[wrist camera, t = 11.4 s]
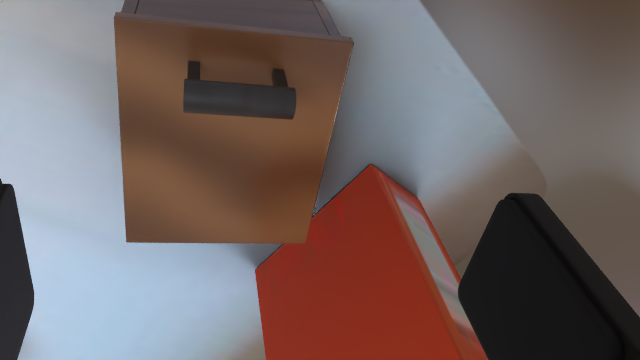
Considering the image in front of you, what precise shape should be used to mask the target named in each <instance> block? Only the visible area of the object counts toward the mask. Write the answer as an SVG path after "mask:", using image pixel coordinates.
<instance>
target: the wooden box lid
mask: <svg viewBox="0 0 640 360" xmlns="http://www.w3.org/2000/svg"><path fill="white" fill-rule="evenodd" d="M114 30H115V48H116V66H117V84H118V101H119V119H120V137H121V155H122V173H123V191H124V209H125V227H126V242H138V243H286V244H305V243H306V238H307V234H308V230H309V226H310V222H311V218H312V214H313V210H314V205H315V201H316V197H317V193H318V189H319V185H320V181H321V177H322V172H323V168H324V164H325V160H326V156H327V152H328V148H329V144H330V139H331V135H332V131H333V127H334V123H335V119H336V115H337V111H338V106H339V102H340V98H341V94H342V90H343V86H344V82H345V77H346V73H347V69H348V65H349V61H350V57H351V53H352V49H353V44H354V42H353V40H352V38H350V37H341V36H332V35H323V34H313V33H304V32H295V31H286V30H277V29H268V28H259V27H249V26H240V25H231V24H222V23H213V22H204V21H194V20H185V19H176V18H167V17H158V16H149V15H139V14H130V13H121V12H116V13H115V16H114Z"/></svg>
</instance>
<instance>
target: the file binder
mask: <svg viewBox="0 0 640 360" xmlns="http://www.w3.org/2000/svg"><path fill="white" fill-rule="evenodd" d="M255 273H256V282H257V290H258V298H259V306H260V314H261V322H262V330H263V338H264V346H265V354H266V360H488V358H487V356H486V354H485V352H484V350H483V348H482V346H481V344H480V342H479V340H478V338H477V336H476V334H475V332H474V330H473V328H472V326H471V324H470V322H469V320H468V318H467V316H466V314H465V312H464V310H463V308H462V306H461V304H460V301H459V298H458V286H459V284H460V281H461V278H460V276H459V274H458V272H457V271H456V269H455V267H454V265H453V263H452V261H451V259H450V257H449V255H448V253H447V252H446V250H445V248H444V246H443V244H442V242H441V240H440V238H439V236H438V235H437V233H436V231H435V229H434V227H433V225H432V223H431V221H430V219H429V218H428V216H427V214H426V212H425V210H424V208H423V206H422V204H421V202H420V201H419V200H418V198H417V197H415V196H414V195H413V194H411V193H410V192H409V191H407V190H406V189H405V188H403V187H402V186H401V185H399V184H398V183H396V182H395V181H394V180H392V179H391V178H390V177H388V176H387V175H386V174H384V173H383V172H382V171H380V170H379V169H378V168H376V167H375V166H374V165H371V164H370V165H369V166H368V167H367V168H366V169H365V170H364V171H363V172H361V173H360V174H359V175H358V176H357V177H356V178H355V179H354V180H353V181H352V182H351V183H349V184H348V185H347V186H346V187H345V188H344V189H343V190H342V191H341V192H340V193H339V194H337V195H336V196H335V197H334V198H333V199H332V200H331V201H330V202H329V203H328V204H327V205H325V206H324V207H323V208H322V209H321V210H320V211H319V212H318V213H317V214H316V215H315V216H313V217H312V218H311V222H310V226H309V230H308V234H307V238H306V243H305V244H286V243H284V244H283V245H282V246H281V247H280V248H279V249H277V250H276V251H275V252H274V253H273V254H272V255H271V256H270V257H269V258H268V259H267V260H265V261H264V262H263V263H262V264H261V265H260V266H259V267H258V268H257V269H256V270H255Z"/></svg>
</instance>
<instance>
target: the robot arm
mask: <svg viewBox="0 0 640 360" xmlns="http://www.w3.org/2000/svg"><path fill="white" fill-rule="evenodd" d="M458 298H459V301H460V304H461V306H462V308H463V310H464V312H465V314H466V316H467V318H468V320H469V322H470V324H471V326H472V328H473V330H474V332H475V334H476V336H477V338H478V340H479V342H480V344H481V346H482V348H483V350H484V352H485V354H486V356H487V358H488V360H640V317H639V316H638V315H637V314H636V312H635V311H634V310H633V309H632V307H630V305H629V304H628V303H627V301H626V300H625V299H624V298H623V297H622V295H621V294H620V293H619V292H618V290H617V289H616V288H615V287H614V286H613V284H612V283H611V282H610V281H609V279H608V278H607V277H606V276H605V275H604V273H603V272H602V271H601V270H600V268H599V267H598V266H597V265H596V264H595V262H594V261H593V260H592V259H591V257H590V256H589V255H588V254H587V253H586V251H585V250H584V249H583V248H582V247H581V245H580V244H579V243H578V242H577V240H576V239H575V238H574V237H573V235H572V234H571V233H570V232H569V231H568V229H567V228H566V227H565V226H564V224H563V223H562V222H561V221H560V220H559V219H558V217H557V216H556V215H555V213H554V212H553V211H552V210H551V209H550V207H549V206H548V205H547V204H546V202H545V201H544V200H543V199H542V198H541V197H540V196H539V195H537V194H528V193H510V194H508V195H507V196H506V197H505V198H504V200H501V201H499V202H498V204H497V206H496V208H495V210H494V212H493V214H492V216H491V218H490V220H489V223H488V225H487V227H486V229H485V231H484V233H483V235H482V237H481V239H480V241H479V244H478V246H477V248H476V250H475V252H474V254H473V256H472V258H471V260H470V263H469V265H468V267H467V269H466V271H465V273H464V275H463V277H462V279H461V281H460V284H459V286H458ZM33 305H34V289H33V284H32V279H31V274H30V269H29V264H28V259H27V254H26V248H25V243H24V238H23V233H22V228H21V223H20V218H19V213H18V208H17V202H16V197H15V192H14V188H13V186H12V185H11V184H2V181H1V179H0V360H17V358H18V355H19V352H20V349H21V346H22V342H23V339H24V336H25V333H26V330H27V327H28V323H29V320H30V317H31V314H32V310H33Z"/></svg>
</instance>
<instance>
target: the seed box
mask: <svg viewBox="0 0 640 360" xmlns="http://www.w3.org/2000/svg"><path fill="white" fill-rule="evenodd" d="M121 13H130V14H139V15H149V16H158V17H167V18H176V19H185V20H194V21H204V22H213V23H222V24H231V25H240V26H249V27H259V28H268V29H277V30H286V31H295V32H304V33H313V34H323V35H332V36H341V35H340V33H339V32H338V30H337V28H336V26H335V24H334V22H333V21H332V19H331V17H330V15H329V13H328V12H327V10H326V8H325V6H324V4H323V3H322V1H321V0H125V2H124V5H123V8H122V11H121Z"/></svg>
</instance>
